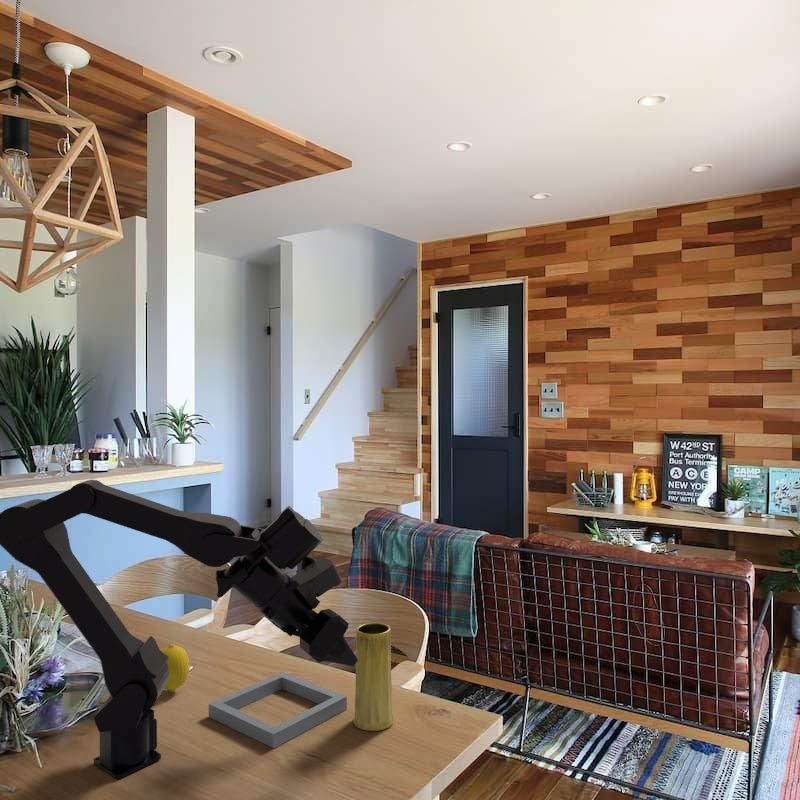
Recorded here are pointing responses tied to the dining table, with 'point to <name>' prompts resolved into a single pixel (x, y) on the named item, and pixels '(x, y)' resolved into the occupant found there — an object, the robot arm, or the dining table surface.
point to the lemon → (176, 666)
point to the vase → (373, 677)
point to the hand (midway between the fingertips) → (341, 652)
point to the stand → (287, 730)
